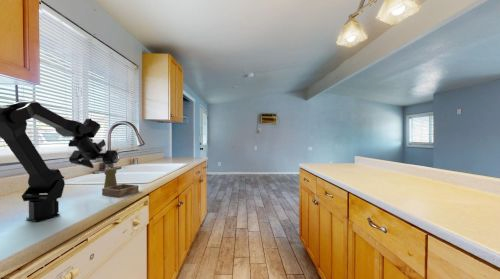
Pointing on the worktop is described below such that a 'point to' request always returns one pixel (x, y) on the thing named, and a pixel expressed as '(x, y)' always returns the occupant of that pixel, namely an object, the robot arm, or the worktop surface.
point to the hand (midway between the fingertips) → (102, 167)
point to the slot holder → (120, 190)
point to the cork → (110, 177)
